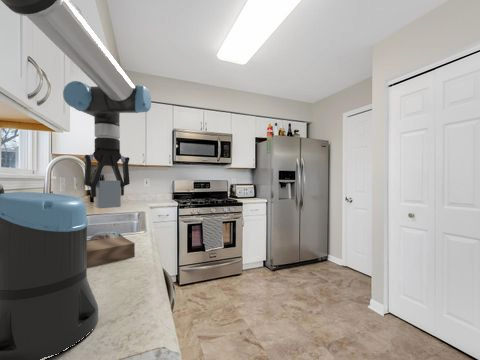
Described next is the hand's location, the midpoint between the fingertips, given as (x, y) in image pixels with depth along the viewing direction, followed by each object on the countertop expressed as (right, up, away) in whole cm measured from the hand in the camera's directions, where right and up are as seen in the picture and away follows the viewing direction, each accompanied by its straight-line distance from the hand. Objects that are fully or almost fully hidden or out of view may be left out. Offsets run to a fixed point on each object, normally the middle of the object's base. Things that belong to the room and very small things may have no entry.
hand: (108, 205), depth 78 cm
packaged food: (-11, -18, +17) cm, 27 cm away
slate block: (0, 0, 0) cm, 0 cm away
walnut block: (-1, -18, 0) cm, 18 cm away
